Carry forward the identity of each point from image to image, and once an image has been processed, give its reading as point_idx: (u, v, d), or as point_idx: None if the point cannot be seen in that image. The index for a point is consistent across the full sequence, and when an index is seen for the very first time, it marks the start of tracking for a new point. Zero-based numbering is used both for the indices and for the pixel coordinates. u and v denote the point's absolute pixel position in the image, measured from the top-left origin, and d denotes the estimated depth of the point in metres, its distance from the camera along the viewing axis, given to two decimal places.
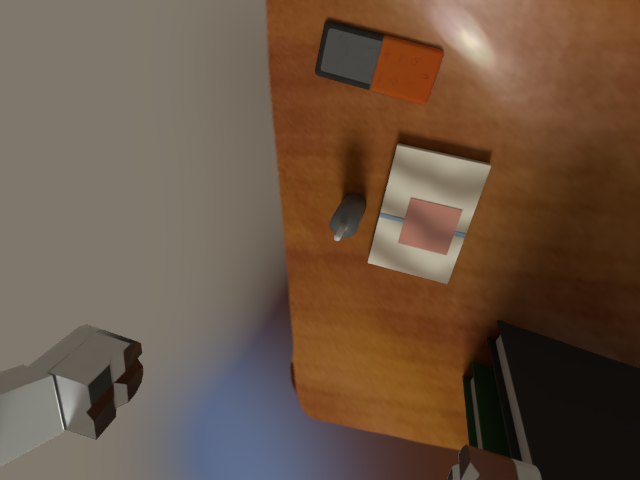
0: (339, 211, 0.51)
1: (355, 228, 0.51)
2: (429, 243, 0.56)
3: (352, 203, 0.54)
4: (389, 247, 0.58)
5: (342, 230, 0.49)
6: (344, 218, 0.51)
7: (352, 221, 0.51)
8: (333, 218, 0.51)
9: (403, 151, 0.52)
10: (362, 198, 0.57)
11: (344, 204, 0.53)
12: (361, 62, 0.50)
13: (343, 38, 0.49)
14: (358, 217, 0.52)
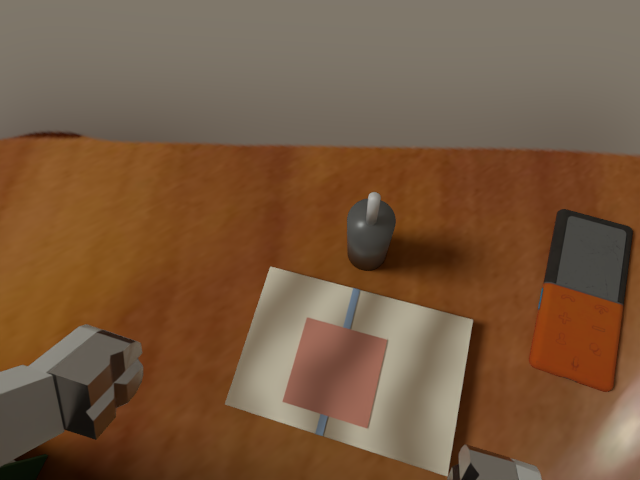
0: None
1: (365, 239, 0.29)
2: (305, 372, 0.33)
3: (389, 242, 0.33)
4: (298, 303, 0.35)
5: (376, 212, 0.28)
6: (383, 222, 0.30)
7: (379, 234, 0.30)
8: (383, 204, 0.30)
9: (463, 329, 0.33)
10: (379, 264, 0.36)
11: None
12: (584, 272, 0.35)
13: (613, 249, 0.35)
14: (377, 248, 0.31)
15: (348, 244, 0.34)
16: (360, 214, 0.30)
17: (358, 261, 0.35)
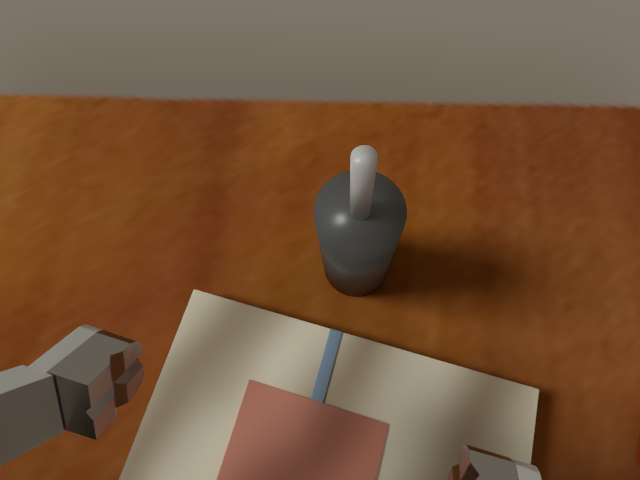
0: None
1: (348, 247, 0.15)
2: None
3: None
4: (236, 353, 0.20)
5: (368, 192, 0.13)
6: (384, 214, 0.15)
7: (374, 239, 0.15)
8: (383, 181, 0.16)
9: (523, 406, 0.19)
10: (376, 286, 0.22)
11: None
12: None
13: None
14: (371, 263, 0.16)
15: (321, 254, 0.19)
16: (339, 200, 0.16)
17: (339, 283, 0.20)
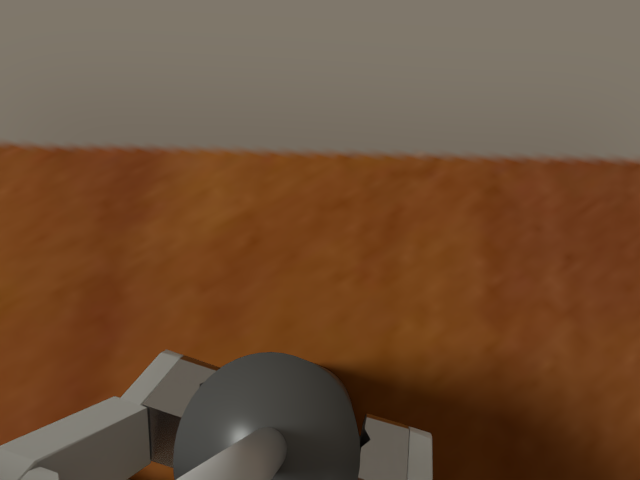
0: (355, 420, 0.08)
1: None
2: None
3: None
4: None
5: None
6: (314, 461, 0.08)
7: None
8: (315, 380, 0.08)
9: None
10: None
11: None
12: None
13: None
14: None
15: None
16: (227, 423, 0.08)
17: None
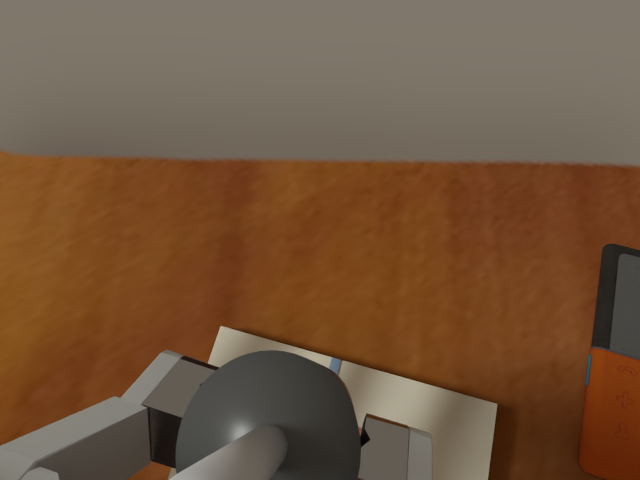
0: None
1: None
2: None
3: None
4: None
5: None
6: (315, 458, 0.08)
7: None
8: (316, 378, 0.08)
9: (484, 418, 0.24)
10: None
11: None
12: None
13: None
14: None
15: None
16: (229, 420, 0.08)
17: None
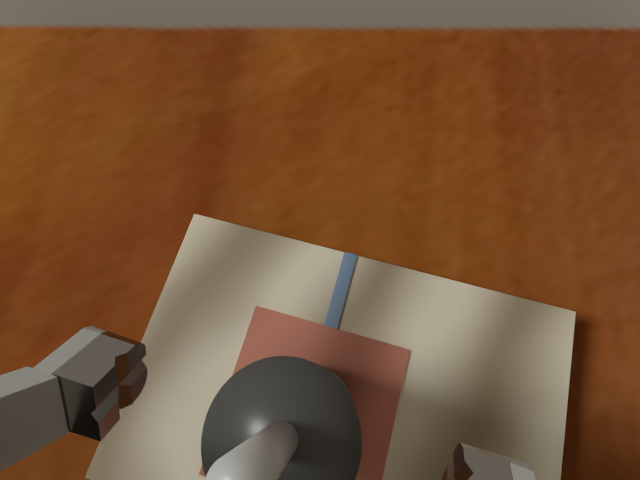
0: None
1: None
2: None
3: None
4: (240, 279, 0.19)
5: None
6: (322, 449, 0.09)
7: None
8: (323, 380, 0.09)
9: (558, 330, 0.17)
10: None
11: None
12: None
13: None
14: None
15: None
16: (247, 417, 0.09)
17: None
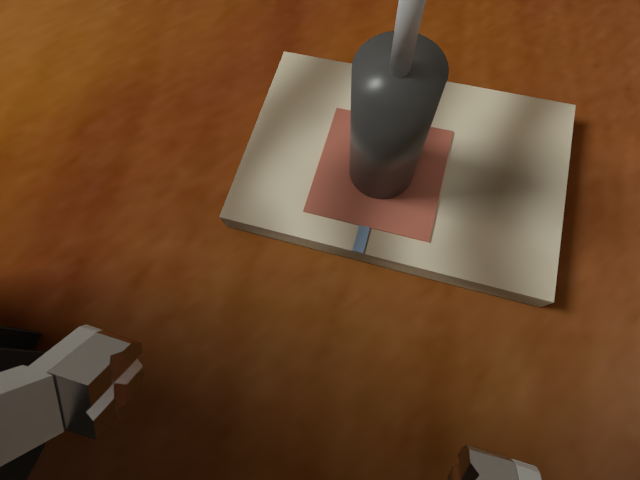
0: None
1: (388, 103, 0.15)
2: (336, 173, 0.23)
3: None
4: (323, 92, 0.25)
5: (416, 26, 0.13)
6: (425, 72, 0.15)
7: (415, 94, 0.15)
8: (423, 41, 0.15)
9: (563, 116, 0.23)
10: (403, 187, 0.21)
11: None
12: None
13: None
14: (409, 130, 0.16)
15: (351, 141, 0.19)
16: (378, 59, 0.15)
17: (368, 176, 0.20)
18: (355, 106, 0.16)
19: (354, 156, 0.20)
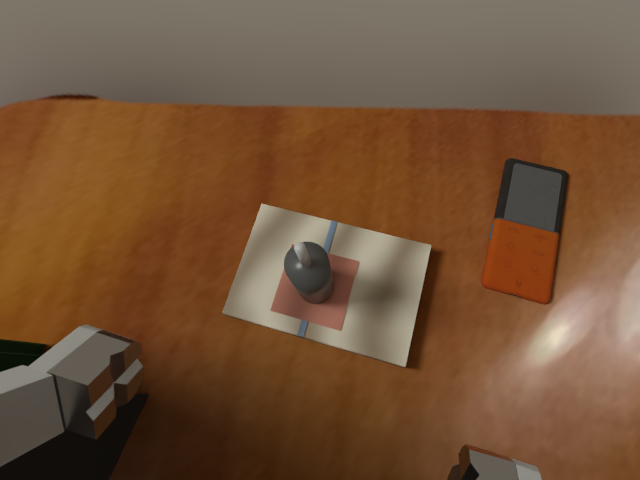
0: None
1: (299, 281, 0.31)
2: (290, 287, 0.39)
3: (330, 281, 0.34)
4: (284, 233, 0.41)
5: (305, 258, 0.29)
6: (318, 265, 0.31)
7: (312, 278, 0.31)
8: (319, 248, 0.32)
9: (423, 252, 0.39)
10: (326, 298, 0.38)
11: None
12: (527, 209, 0.41)
13: (551, 189, 0.42)
14: (313, 288, 0.32)
15: None
16: (296, 257, 0.32)
17: (303, 296, 0.36)
18: None
19: None
